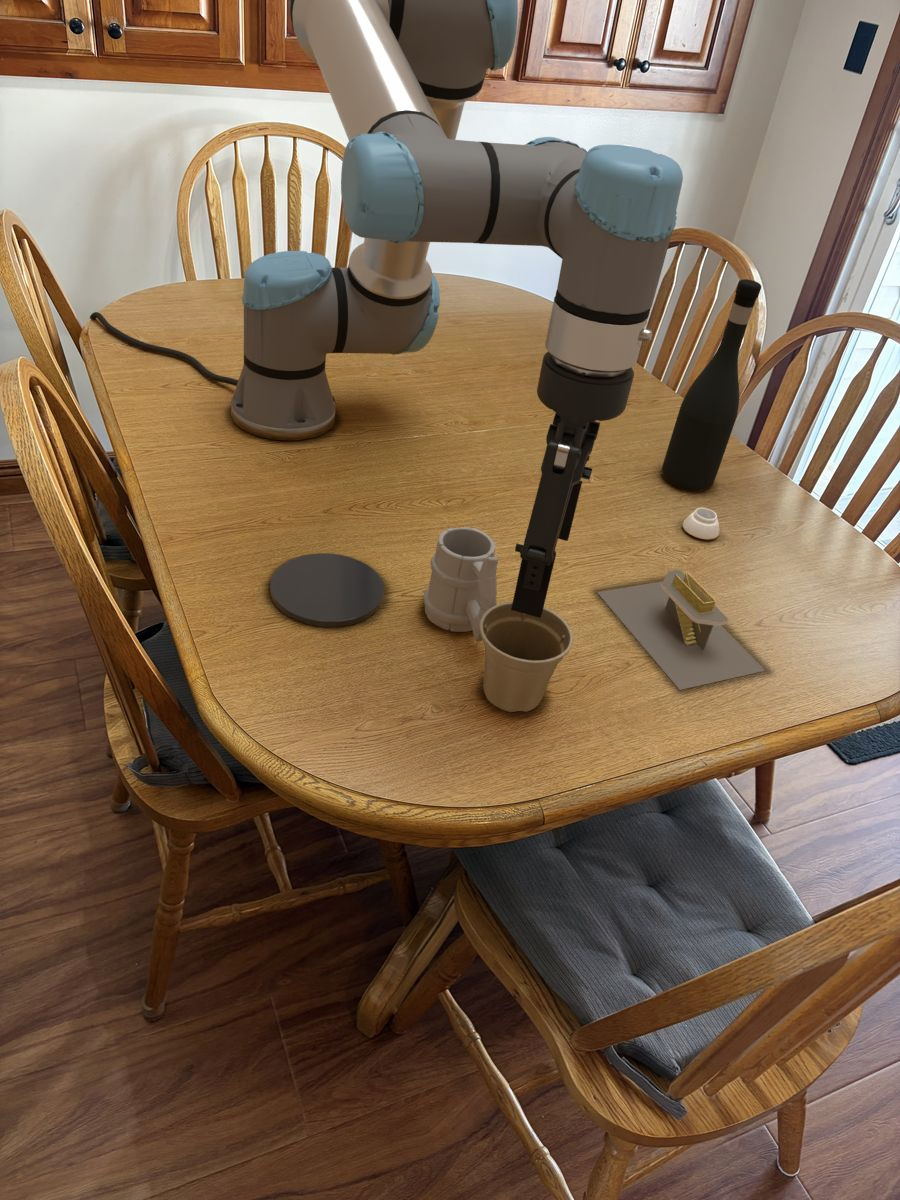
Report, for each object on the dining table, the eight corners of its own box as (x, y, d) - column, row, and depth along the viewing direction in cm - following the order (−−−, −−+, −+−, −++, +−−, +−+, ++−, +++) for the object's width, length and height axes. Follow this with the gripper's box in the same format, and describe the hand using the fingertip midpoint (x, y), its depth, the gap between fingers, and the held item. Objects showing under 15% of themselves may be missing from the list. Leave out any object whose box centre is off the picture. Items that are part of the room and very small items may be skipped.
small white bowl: (679, 534, 128) (715, 545, 127) (685, 516, 127) (722, 527, 126) (684, 517, 132) (719, 528, 131) (690, 500, 130) (726, 510, 129)
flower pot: (551, 735, 94) (568, 671, 89) (459, 713, 95) (472, 648, 90) (560, 675, 102) (577, 613, 97) (476, 655, 103) (488, 593, 97)
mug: (471, 588, 112) (486, 503, 105) (514, 651, 104) (534, 563, 97) (412, 597, 109) (423, 510, 102) (451, 663, 101) (467, 573, 94)
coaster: (250, 607, 104) (250, 602, 104) (297, 547, 114) (297, 542, 114) (360, 639, 102) (361, 634, 102) (398, 576, 112) (399, 570, 112)
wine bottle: (656, 463, 144) (715, 268, 126) (707, 470, 145) (772, 276, 127) (664, 490, 138) (727, 288, 120) (717, 497, 138) (787, 297, 120)
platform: (679, 689, 102) (697, 644, 99) (596, 592, 115) (609, 548, 111) (765, 670, 107) (785, 626, 103) (676, 578, 120) (691, 536, 116)
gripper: (614, 432, 66) (555, 661, 78) (651, 320, 85) (599, 518, 98) (511, 407, 67) (469, 637, 79) (571, 302, 87) (530, 500, 99)
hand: (541, 571), depth 89 cm, fingers open, 13 cm apart
